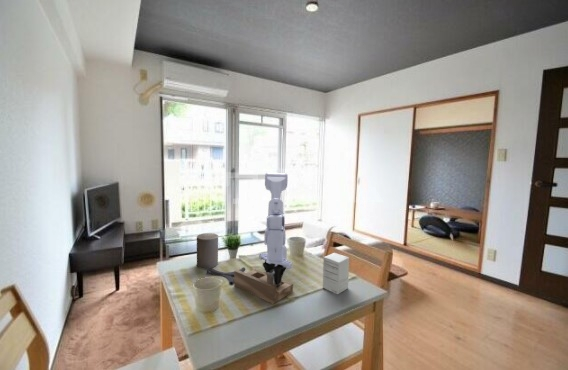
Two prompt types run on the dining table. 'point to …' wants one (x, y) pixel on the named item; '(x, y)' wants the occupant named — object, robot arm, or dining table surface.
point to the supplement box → (335, 273)
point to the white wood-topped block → (272, 278)
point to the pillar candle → (207, 250)
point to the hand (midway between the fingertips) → (274, 282)
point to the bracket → (224, 274)
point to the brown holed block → (261, 285)
